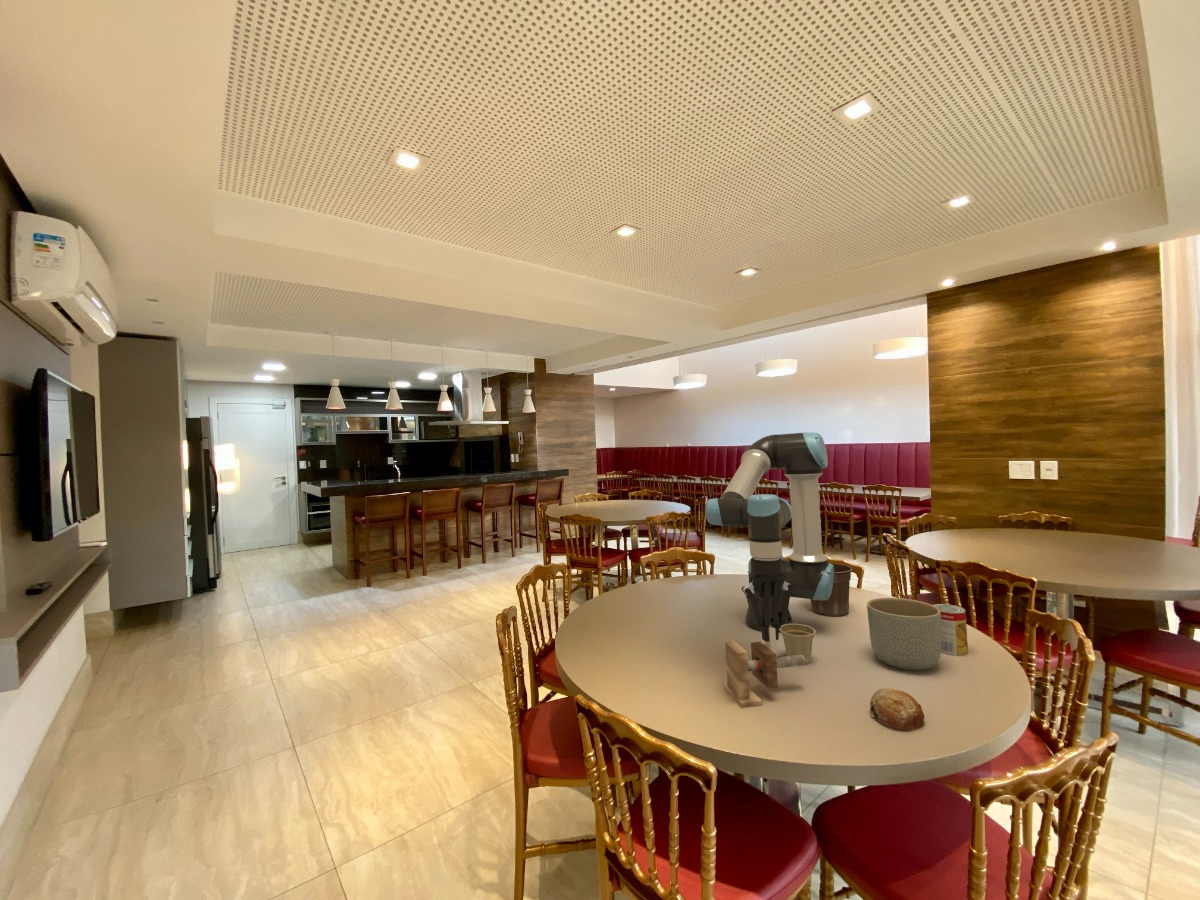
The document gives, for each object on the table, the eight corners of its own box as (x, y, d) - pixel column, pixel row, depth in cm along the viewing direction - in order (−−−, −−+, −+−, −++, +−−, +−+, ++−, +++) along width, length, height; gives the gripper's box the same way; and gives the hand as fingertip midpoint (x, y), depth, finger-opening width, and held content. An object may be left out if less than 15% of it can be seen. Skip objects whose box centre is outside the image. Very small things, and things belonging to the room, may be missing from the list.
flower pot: (801, 670, 129) (799, 638, 129) (773, 658, 137) (772, 627, 137) (824, 662, 133) (822, 630, 133) (796, 650, 141) (795, 621, 141)
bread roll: (869, 724, 108) (852, 693, 108) (906, 701, 109) (890, 670, 109) (900, 750, 99) (882, 716, 98) (940, 725, 100) (923, 691, 99)
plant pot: (797, 606, 181) (794, 563, 182) (837, 603, 183) (834, 560, 183) (821, 620, 165) (818, 573, 165) (865, 616, 167) (862, 570, 167)
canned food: (969, 649, 137) (967, 607, 137) (966, 658, 131) (963, 614, 131) (936, 642, 142) (934, 602, 142) (931, 651, 136) (929, 609, 137)
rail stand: (792, 679, 124) (790, 632, 124) (816, 697, 114) (813, 647, 114) (724, 687, 121) (721, 640, 121) (741, 707, 111) (739, 655, 111)
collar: (761, 673, 121) (760, 641, 122) (778, 687, 114) (776, 653, 114) (752, 674, 121) (750, 642, 121) (768, 689, 113) (766, 655, 113)
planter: (880, 645, 142) (877, 594, 142) (949, 661, 130) (946, 604, 130) (861, 665, 130) (858, 608, 130) (936, 683, 118) (932, 621, 118)
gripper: (782, 552, 123) (787, 645, 122) (734, 556, 121) (739, 650, 120) (798, 558, 115) (804, 656, 115) (748, 562, 113) (753, 662, 113)
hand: (771, 653), depth 118 cm, fingers closed
